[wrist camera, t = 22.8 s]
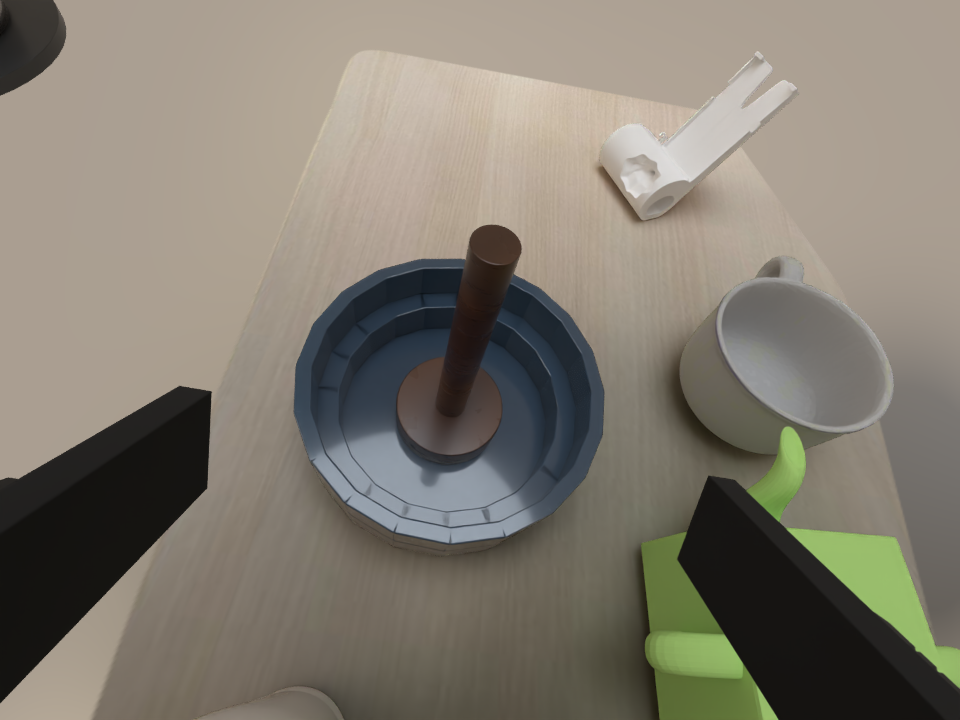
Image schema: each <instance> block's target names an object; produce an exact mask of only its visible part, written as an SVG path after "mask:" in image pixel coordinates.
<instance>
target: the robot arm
mask: <svg viewBox="0 0 960 720" xmlns="http://www.w3.org/2000/svg"><path fill="white" fill-rule="evenodd" d="M8 22H9V12H8V9H7V7H6V5H5V4H4V2H3V0H0V36H1V35H2V34H3V32H4V31H5V29H6V27H7V25H8ZM211 393H212V392H211V391H206V390H200V389H194V388H189V387H182V386H179V387H177V388H175V389H173V390H172V391H170V392H168V393H166V394H165V395H163V396H161V397H160V398H158V399H156V400H154V401H153V402H151V403H149V404H147V405H146V406H144V407H142V408H141V409H139V410H137V411H136V412H134V413H132V414H130V415H128V416H127V417H125V418H123V419H122V420H120V421H118V422H116V423H115V424H113V425H111V426H109V427H108V428H106V429H104V430H102V431H101V432H99V433H97V434H95V435H94V436H92V437H90V438H89V439H87V440H85V441H83V442H82V443H80V444H78V445H76V446H75V447H73V448H71V449H70V450H68V451H66V452H64V453H63V454H61V455H59V456H58V457H56V458H54V459H52V460H51V461H49V462H47V463H46V464H44V465H42V466H40V467H38V468H37V469H35V470H33V471H31V472H30V473H28V474H26V475H25V476H23V477H21V478H20V479H14V478H5V479H3V480H0V703H1V702H2V701H3V700H4V699H5V698H6V697H7V696H8V695H9V694H10V692H12V691H13V689H14V688H15V687H16V686H17V685H18V684H19V683H20V682H21V681H22V680H23V679H24V678H25V677H26V676H27V675H28V674H29V673H30V671H32V670H33V669H34V668H35V667H36V666H37V665H38V663H39V662H40V661H41V660H42V659H43V658H44V657H45V656H46V655H47V654H48V653H49V652H50V651H51V650H52V649H53V648H54V647H55V646H56V645H57V644H58V643H59V641H61V640H62V638H63V637H64V636H65V635H66V634H67V633H68V632H69V631H70V630H71V629H72V628H73V627H74V626H75V625H76V624H77V623H78V622H79V621H80V620H81V619H82V618H83V617H84V616H85V615H86V613H88V611H89V610H90V609H91V608H92V607H93V606H94V605H95V604H96V603H97V602H98V601H99V600H100V599H101V598H102V597H103V596H104V595H105V594H106V593H107V592H108V591H109V590H110V589H111V588H112V587H113V586H114V584H115V583H116V582H117V581H118V580H119V579H120V578H121V577H122V576H123V575H124V574H125V573H126V572H127V571H128V570H129V569H130V568H131V567H132V566H133V565H134V564H135V563H136V562H137V561H138V560H139V558H140V557H141V556H142V555H143V554H144V553H145V552H146V551H147V550H148V549H149V548H150V547H151V546H152V545H153V544H154V543H155V542H156V541H157V540H158V539H159V538H160V537H161V536H162V535H163V534H164V532H165V531H166V530H167V529H168V528H169V527H170V526H171V525H172V524H173V523H174V522H175V521H176V520H177V519H178V518H179V517H180V516H181V515H182V514H183V513H184V512H185V511H186V510H187V509H188V508H189V506H190V505H191V504H192V503H193V502H194V501H195V500H196V499H197V498H198V497H199V496H200V495H201V494H202V493H203V492H204V491H205V490H206V489H207V481H208V459H209V437H210V415H211ZM677 560H678V562H679V563H680V565H681V567H682V568H683V570H684V571H685V573H686V574H687V576H688V578H689V579H690V581H691V582H692V584H693V586H694V587H695V589H696V590H697V592H698V593H699V595H700V597H701V598H702V600H703V601H704V603H705V604H706V606H707V608H708V609H709V611H710V612H711V614H712V616H713V617H714V619H715V620H716V622H717V623H718V625H719V627H720V628H721V630H722V631H723V633H724V634H725V636H726V638H727V639H728V641H729V642H730V644H731V645H732V647H733V649H734V650H735V652H736V653H737V655H738V657H739V658H740V660H741V661H742V663H743V664H744V666H745V668H746V669H747V671H748V672H749V674H750V675H751V677H752V679H753V680H754V682H755V683H756V685H757V687H758V688H759V690H760V691H761V693H762V694H763V696H764V698H765V699H766V701H767V702H768V704H769V705H770V707H771V709H772V710H773V712H774V713H775V715H776V717H777V718H778V720H960V689H959V688H958V687H957V686H956V685H955V684H954V683H953V682H952V681H951V680H950V679H949V678H948V677H947V676H946V675H945V674H944V673H941V672H938V671H937V667H936V666H935V665H934V664H933V663H932V662H931V661H930V660H929V659H928V658H926V657H925V656H924V655H923V654H922V653H921V652H917V651H916V649H915V646H914V645H913V644H912V643H911V642H909V641H908V640H907V639H906V638H905V637H904V636H903V635H902V634H901V633H900V632H899V631H898V630H897V629H896V628H895V627H893V626H892V625H891V624H890V623H889V622H888V621H886V620H885V619H883V618H882V617H881V616H879V615H878V614H876V613H875V612H873V611H872V610H871V609H870V608H869V607H868V606H867V605H866V604H865V603H864V602H863V601H862V600H860V599H859V598H858V597H857V596H856V595H855V594H854V593H853V592H852V591H851V590H850V589H849V588H848V587H847V586H846V585H845V584H844V583H843V582H842V581H840V580H839V579H838V578H837V577H836V576H835V575H834V574H833V573H832V572H831V571H830V570H829V569H828V568H827V567H826V566H825V565H824V564H823V563H822V562H820V561H819V560H818V559H817V558H816V557H815V556H814V555H813V554H812V553H811V552H810V551H809V550H808V549H807V548H806V547H805V546H804V545H803V544H802V543H800V542H799V541H798V540H797V539H796V538H795V537H794V536H793V535H792V534H791V533H790V532H789V531H788V530H787V529H786V528H785V527H784V526H783V525H782V524H780V523H779V522H778V521H777V520H776V519H775V518H774V517H773V516H772V515H771V514H770V513H769V512H768V511H767V510H766V509H765V508H764V507H763V506H762V505H760V504H759V503H758V502H757V501H756V500H755V499H754V498H753V497H752V496H751V495H750V494H749V493H748V492H747V491H746V490H745V489H744V488H743V487H742V486H740V485H739V484H738V483H737V482H736V481H735V480H732V479H726V478H720V477H714V476H708V478H707V481H706V483H705V486H704V489H703V491H702V494H701V497H700V499H699V502H698V505H697V507H696V510H695V512H694V515H693V518H692V520H691V523H690V526H689V528H688V531H687V534H686V536H685V539H684V541H683V544H682V547H681V549H680V552H679V555H678V557H677Z"/></svg>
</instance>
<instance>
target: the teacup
mask: <svg viewBox="0 0 960 720" xmlns="http://www.w3.org/2000/svg"><path fill="white" fill-rule="evenodd" d="M803 277H804V268H803V265H802V263H801V262H799V261H798V260H797V259H795V258H792V257H788V256H778V257H775V258H772V259H771V260H770V261H768V262H767V263H766V264H765V265H764V266H763V267H762V268H761V269H760V271H759V272H758V274H757V275H756V277H755V279H751V280H748V281H746V282H743V283H741V284H739V285H737V286H736V287H734V288H733V289H732V290H730V291H729V292H728V293H727V294H726V295H725V296H724V298H723V299H722V301H721V303H720V304H719V306H718V307H717V308H716V309H715V310H714V311H713V312H712V313H711V314H710V315H709V316H708V317H707V318H706V319H705V320H704V322H703V323H702V324H701V325H700V326H699V327H698V329H697V330H696V331H695V332H694V334H693V335H692V336H691V338H690V339H689V341H688V343H687V344H686V346H685V348H684V351H683V353H682V356H681V361H680V382H681V387H682V390H683V393H684V396H685V398H686V400H687V402H688V404H689V406H690V408H691V409H692V411H693V412H694V414H695V415H696V416H697V418H698V419H699V420H700V421H701V422H702V423H703V424H704V425H705V426H706V427H707V428H708V429H709V430H710V431H711V432H712V433H714V434H715V435H716V436H718V437H719V438H721V439H722V440H724V441H726V442H727V443H729V444H731V445H733V446H735V447H738V448H740V449H743V450H746V451H750V452H753V453H759V454H772V455H777V454H778V448H779V442H780V435H781V432H782V430H783V429H784V428H785V427H791V428H792V429H794V430H795V432H796V433H797V434H798V436H799V438H800V440H801V442H802V445H803V449H807V448H810V447H813V446H816V445H818V444H821V443H824V442H826V441H829V440H831V439H834V438H837V437H839V436H841V435H844V434H849V433H853V432H857V431H860V430H862V429H864V428H866V427H868V426H870V425H872V424H874V422H876V421H877V420H879V419H880V418H881V417H882V416H883V415H884V413H885V412H886V410H887V409H888V407H889V404H890V402H891V398H892V396H893V390H894V387H893V381H894V380H893V373H892V370H891V364H890V362H889V360H888V358H887V355H886V353H885V350H884V348H883V346H882V345H881V343H880V341H879V339H878V338H877V336H876V335H875V334H874V332H873V331H872V330H871V329H870V328H869V326H868V325H867V324H866V323H865V322H864V321H863V320H862V319H861V318H860V317H859V316H858V315H857V314H856V313H855V312H854V311H853V310H852V309H850V308H849V307H848V306H846V305H845V304H844V303H843V302H841V301H839V300H838V299H836V298H835V297H833V296H831V295H830V294H828V293H826V292H823V291H821V290H819V289H817V288H815V287H813V286H811V285H807V284H805V283H802V282H803Z"/></svg>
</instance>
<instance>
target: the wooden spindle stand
mask: <svg viewBox="0 0 960 720" xmlns="http://www.w3.org/2000/svg"><path fill="white" fill-rule="evenodd" d="M521 250H522V248H521V243H520V241H519V239H518V237H517V236H516V235H515V234H514V233H513V232H512V231H510V230H509V229H507V228H505V227H502V226H499V225H485V226H482V227H479V228H478V229H476V230H475V231H474V232H473V233H472V235H471V237H470V241H469V245H468V250H467V255H466V260H465V264H464V269H463V274H462V279H461V283H460V288H459V293H458V298H457V302H456V307H455V312H454V316H453V321H452V326H451V331H450V335H449V340H448V345H447V350H446V354H445V357H439V358H434V359H430V360H428V361H425V362H423V363H421V364H419V365H418V366H416V367H415V368H414V369H413V370H411V371H410V372H409V373H408V375H407V376H406V377H405V378H404V380H403V382H402V383H401V386H400V388H399V391H398V394H397V401H396V422H397V427H398V430H399V433H400V435H401V437H402V439H403V441H404V442H405V444H406V445H407V446H408V447H409V449H410V450H412V451H413V452H414V453H415V454H416V455H418V456H419V457H421V458H423V459H425V460H427V461H430V462H433V463H437V464H444V465H452V464H459V463H463V462H466V461H468V460H470V459H473V458H474V457H476V456H477V455H479V454H480V453H481V452H482V451H483V450H484V449H485V448H486V447H487V446H488V444H489V443H490V441H491V440H492V438H493V436H494V434H495V433H496V431H497V429H498V427H499V425H500V422H501V418H502V398H501V395H500V392H499V389H498V387H497V385H496V384H495V382H494V380H493V379H492V378H491V376H490V375H489V374H488V373H487V372H486V371H485V370H483V369H482V368H481V367H480V365H481V362H482V359H483V356H484V354H485V351H486V348H487V345H488V343H489V340H490V337H491V334H492V332H493V329H494V326H495V323H496V321H497V318H498V315H499V312H500V310H501V307H502V304H503V301H504V299H505V296H506V293H507V290H508V288H509V285H510V282H511V279H512V277H513V274H514V271H515V268H516V266H517V263H518V260H519V257H520V255H521Z"/></svg>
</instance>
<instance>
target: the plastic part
mask: <svg viewBox="0 0 960 720" xmlns="http://www.w3.org/2000/svg"><path fill="white" fill-rule="evenodd" d="M772 72H773V68H772V67H771V66H770V65H769V64H768V63H767V62H766V61H765V58H764V57H763V55H762V54H760V52H758V51H757V52H756V53H755V54H754V57H753V58H752V59H751V60H750V61H749V62H748V63H747V64H746V65H744V66H743V68H741V69H740V70H739V71H738V72H737V73H736V74H735V75H734V76H733V77H732V78H731V79H730V80H729V81H728V83H729V86H728V87H727V88H726V89H725V90H723V91H722V92H721V93H720V95H718V96H717V97H716V98H714V97H713V96H712V97H711V98H710V99H709V100H708V101H707V102H706V103H705V104H704V105H703V106H702V107H701V108H700V109H699V110H698V111H697V112H696V113H695V114H694V115H693V116H692V117H691V118H690V119H689V120H688V121H687V122H685V123H684V124H683V125H682V126H681V127H680V128H679V129H678V130H677V131H676V132H675V133H674V134H673V135H672V136H671V137H670V138H669V139H668V137H667V136H666V134H665V133H664V132H662V133H660V134H659V135H660V136H662V135H664V136H663V137H662V138H661V139H659V140H657V139H656V137H655V136H654V135H653V134H652V132H651V131H650V130H648V129H647V128H646V127H644V126H643V125H642V124H639V123H633V124H628V125H625V126H623V127H621V128H619V129H618V130H616V131H615V132H614V133H612V134H611V135H610V136H609V137H608V139H607V140H606V141H605V142H604V144H603V146H602V148H601V150H600V153H599V161H600V163H601V164H602V165H603V167H604V168H605V170H606V171H607V172H608V174H609V175H610V177H611V178H612V179H613V181H614V182H615V184H616V185H617V186H618V188H619V189H620V191H621V192H622V193H623V195H624V196H625V198H626V199H627V200H628V202H629V203H630V205H631V206H632V207H633V209H634V210H635V212H636V213H637V214H638V216H639V217H640V219H642V220H648V219H653V218H657V217H659V216H661V215H663V214H664V213H665V212H667V211H668V210H669V209H670V208H671V207H673V206H674V205H675V204H676V203H677V202H678V201H679V200H680V199H682V198H683V197H684V196H685V195H686V194H687V193H688V192H689V191H690V190H692V189H693V188H694V187H695V186H696V185H697V184H698V183H699V182H701V181H702V180H703V179H704V178H705V177H706V176H707V175H709V174H710V173H711V172H712V171H713V170H714V169H715V168H716V167H718V166H719V165H720V164H721V163H722V162H723V161H724V160H725V159H727V158H728V157H729V156H730V155H731V154H732V153H733V152H734V151H736V150H737V149H738V148H739V147H740V146H741V145H742V144H743V143H745V142H746V141H747V140H748V139H749V138H750V137H751V136H752V135H754V134H755V133H756V132H757V131H758V130H759V129H760V128H761V127H763V126H764V125H765V124H766V123H767V122H768V121H769V120H770V119H772V118H773V117H774V116H775V115H776V114H777V113H778V112H779V111H781V110H782V109H783V108H784V107H785V106H786V105H787V104H789V103H790V102H791V101H792V100H793V99H794V98H795V97H796V96H798V95H799V92H798V89H797V88H796V87H795V86H794V85H793V84H792V83H788V82H787V81H786V80H782V81H781V82H779V83H777V84H776V85H775V86H773V87H772V88H771V89H770V90H768V91H767V92H766V93H765V94H763V95H762V96H761V97H759V98H758V99H757V100H755V101H754V102H753V103H751V104H750V105H749V106H747V107H745V108H743V109H742V107H743V105H744V104H745V102H746V101H747V100H748V99H749V98H750V97H751V95H752V94H753V93H754V92H755V91H756V90H757V89H758V88H759V87H760V86H761V85H762V83H763V82H764V81H765V80H766V79H767V78H768V77H769V76H770V74H771V73H772ZM667 139H668V140H667ZM665 140H667V141H666V142H665V143H664V144H663V145H662V144H661V143H662V142H664V141H665Z"/></svg>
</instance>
